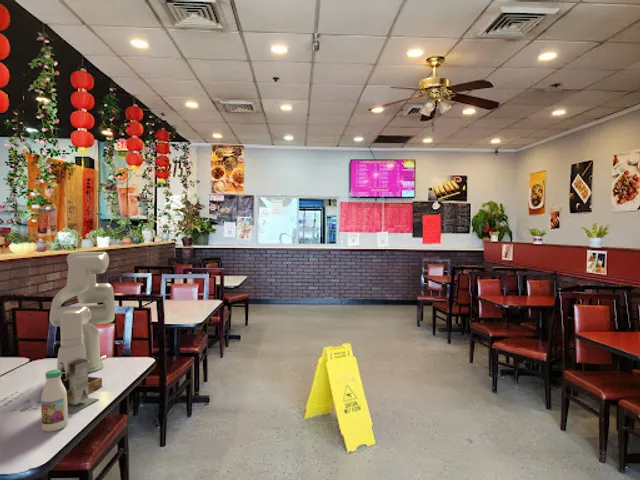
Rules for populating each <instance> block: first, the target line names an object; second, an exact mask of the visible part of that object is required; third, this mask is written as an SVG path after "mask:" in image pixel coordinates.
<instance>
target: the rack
mask: <svg viewBox="0 0 640 480" xmlns="http://www.w3.org/2000/svg"><path fill="white" fill-rule="evenodd" d="M102 379H103V378H102V377H99V376H98V377H96V376H88V395H89V394H90V393H92V392H93V393H94V392H95V391H96V390H99V389H102V387H103V380H102Z"/></svg>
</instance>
